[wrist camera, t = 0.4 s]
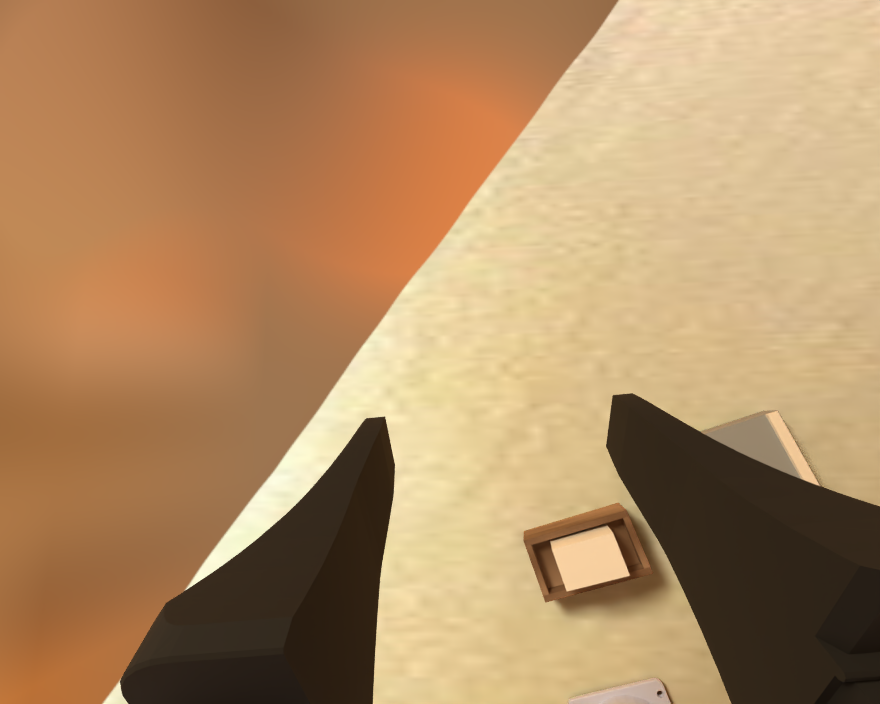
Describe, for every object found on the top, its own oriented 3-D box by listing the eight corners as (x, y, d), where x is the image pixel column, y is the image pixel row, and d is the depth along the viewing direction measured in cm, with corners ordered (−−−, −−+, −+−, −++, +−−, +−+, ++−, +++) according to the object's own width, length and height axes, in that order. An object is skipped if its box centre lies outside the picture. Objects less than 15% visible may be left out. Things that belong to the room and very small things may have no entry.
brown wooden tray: (641, 558, 34) (653, 573, 31) (543, 585, 35) (545, 602, 32) (617, 501, 35) (626, 510, 32) (523, 529, 36) (523, 540, 33)
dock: (842, 553, 31) (867, 563, 28) (690, 594, 32) (702, 606, 30) (763, 411, 33) (780, 410, 31) (627, 455, 35) (634, 457, 33)
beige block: (620, 562, 32) (629, 575, 29) (563, 576, 33) (566, 591, 30) (605, 523, 33) (613, 532, 30) (549, 538, 34) (551, 549, 31)
